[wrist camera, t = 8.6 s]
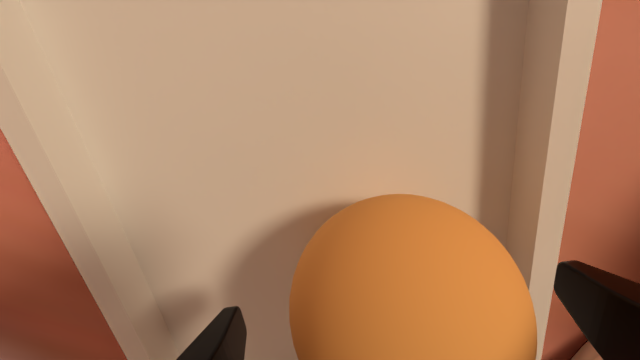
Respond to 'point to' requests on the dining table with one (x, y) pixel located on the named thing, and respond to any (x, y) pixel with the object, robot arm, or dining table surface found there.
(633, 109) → the dining table surface
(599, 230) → the dining table surface
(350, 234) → the ball
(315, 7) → the tray
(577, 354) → the bowl
